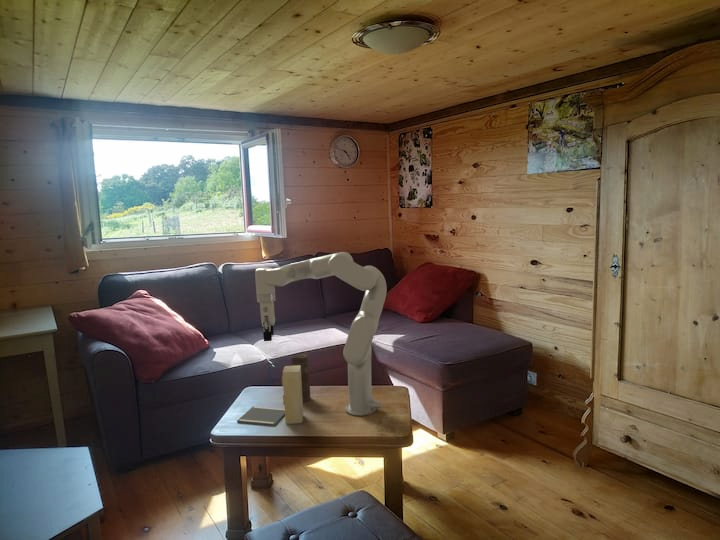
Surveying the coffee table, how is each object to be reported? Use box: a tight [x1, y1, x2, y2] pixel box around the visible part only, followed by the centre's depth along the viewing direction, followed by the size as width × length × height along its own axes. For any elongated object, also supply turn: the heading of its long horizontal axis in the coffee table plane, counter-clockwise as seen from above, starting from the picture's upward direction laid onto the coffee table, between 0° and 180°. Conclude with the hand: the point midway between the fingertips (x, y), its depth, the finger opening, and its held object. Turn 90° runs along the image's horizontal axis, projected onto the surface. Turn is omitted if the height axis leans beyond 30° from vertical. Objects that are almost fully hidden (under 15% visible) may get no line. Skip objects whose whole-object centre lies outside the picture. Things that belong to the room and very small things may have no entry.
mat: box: [236, 406, 285, 427], centre depth 198 cm, size 16×14×1 cm
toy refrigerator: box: [281, 365, 304, 425], centre depth 194 cm, size 8×7×21 cm
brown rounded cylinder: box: [290, 353, 311, 403], centre depth 214 cm, size 8×7×20 cm
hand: (268, 337), depth 205 cm, fingers open, 9 cm apart
